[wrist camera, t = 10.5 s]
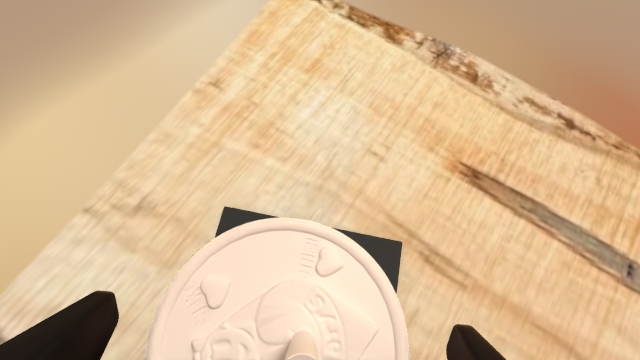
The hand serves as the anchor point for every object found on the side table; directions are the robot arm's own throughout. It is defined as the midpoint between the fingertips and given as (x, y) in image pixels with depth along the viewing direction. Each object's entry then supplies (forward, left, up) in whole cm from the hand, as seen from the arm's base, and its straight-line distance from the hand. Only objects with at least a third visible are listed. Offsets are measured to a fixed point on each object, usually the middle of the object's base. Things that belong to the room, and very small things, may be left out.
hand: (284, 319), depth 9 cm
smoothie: (-1, 0, -9) cm, 9 cm away
